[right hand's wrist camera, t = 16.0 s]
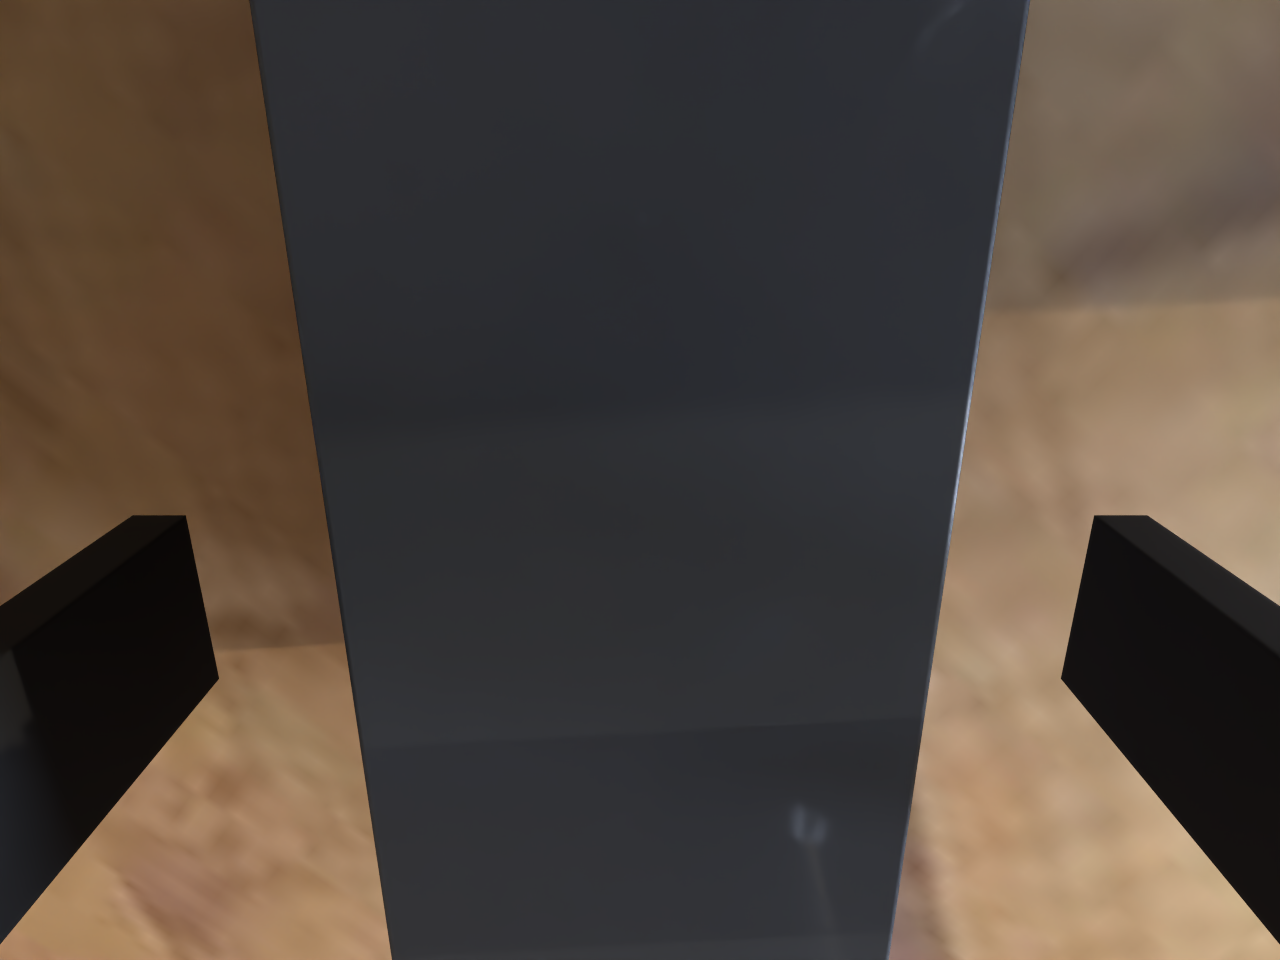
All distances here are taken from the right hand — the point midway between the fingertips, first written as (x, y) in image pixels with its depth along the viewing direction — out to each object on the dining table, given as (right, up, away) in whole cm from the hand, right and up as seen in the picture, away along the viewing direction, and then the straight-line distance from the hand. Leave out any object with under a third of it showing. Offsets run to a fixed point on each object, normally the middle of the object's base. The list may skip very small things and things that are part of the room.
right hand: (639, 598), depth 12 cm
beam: (0, +13, +1) cm, 13 cm away
